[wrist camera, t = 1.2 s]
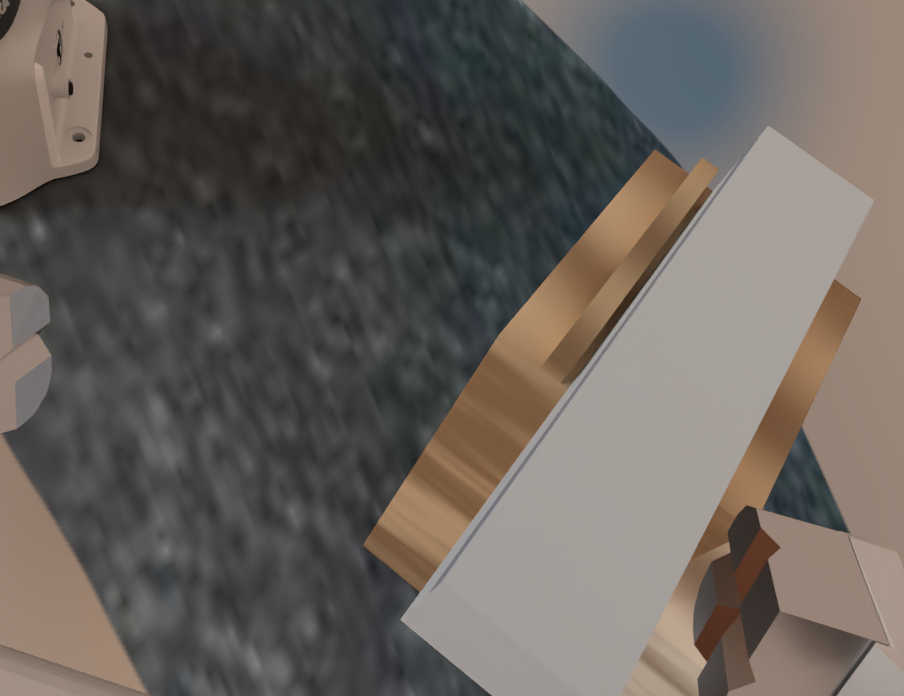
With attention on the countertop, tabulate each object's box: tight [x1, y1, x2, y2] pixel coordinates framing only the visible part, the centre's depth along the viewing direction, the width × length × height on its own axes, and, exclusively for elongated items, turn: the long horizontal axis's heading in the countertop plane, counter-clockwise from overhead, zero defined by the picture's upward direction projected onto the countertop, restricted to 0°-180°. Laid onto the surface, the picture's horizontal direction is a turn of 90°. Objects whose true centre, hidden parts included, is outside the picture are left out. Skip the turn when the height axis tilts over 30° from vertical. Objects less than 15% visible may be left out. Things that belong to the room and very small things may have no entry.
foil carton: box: [400, 126, 874, 696], centre depth 24 cm, size 20×4×4 cm, turn 145°
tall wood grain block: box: [363, 150, 861, 696], centre depth 39 cm, size 12×16×27 cm
